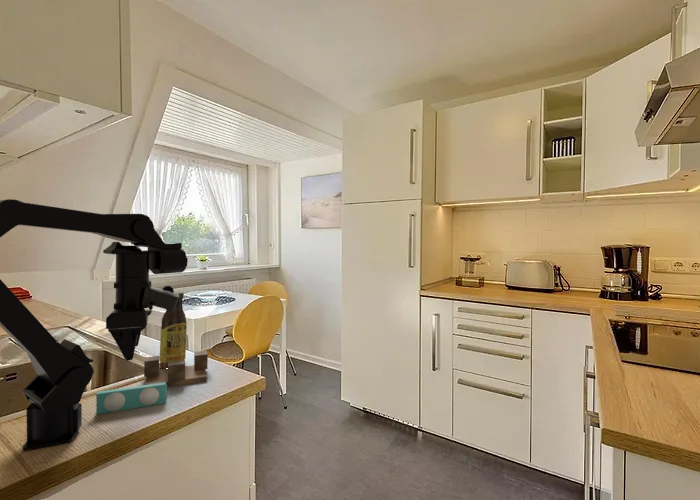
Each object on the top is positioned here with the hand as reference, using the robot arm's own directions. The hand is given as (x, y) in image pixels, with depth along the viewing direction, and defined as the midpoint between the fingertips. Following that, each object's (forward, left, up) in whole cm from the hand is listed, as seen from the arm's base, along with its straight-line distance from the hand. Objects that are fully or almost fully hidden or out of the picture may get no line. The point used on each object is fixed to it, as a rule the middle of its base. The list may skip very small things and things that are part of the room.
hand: (132, 352), depth 72 cm
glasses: (0, +3, -11) cm, 12 cm away
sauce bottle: (+7, +22, -12) cm, 26 cm away
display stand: (+8, +13, -11) cm, 19 cm away
